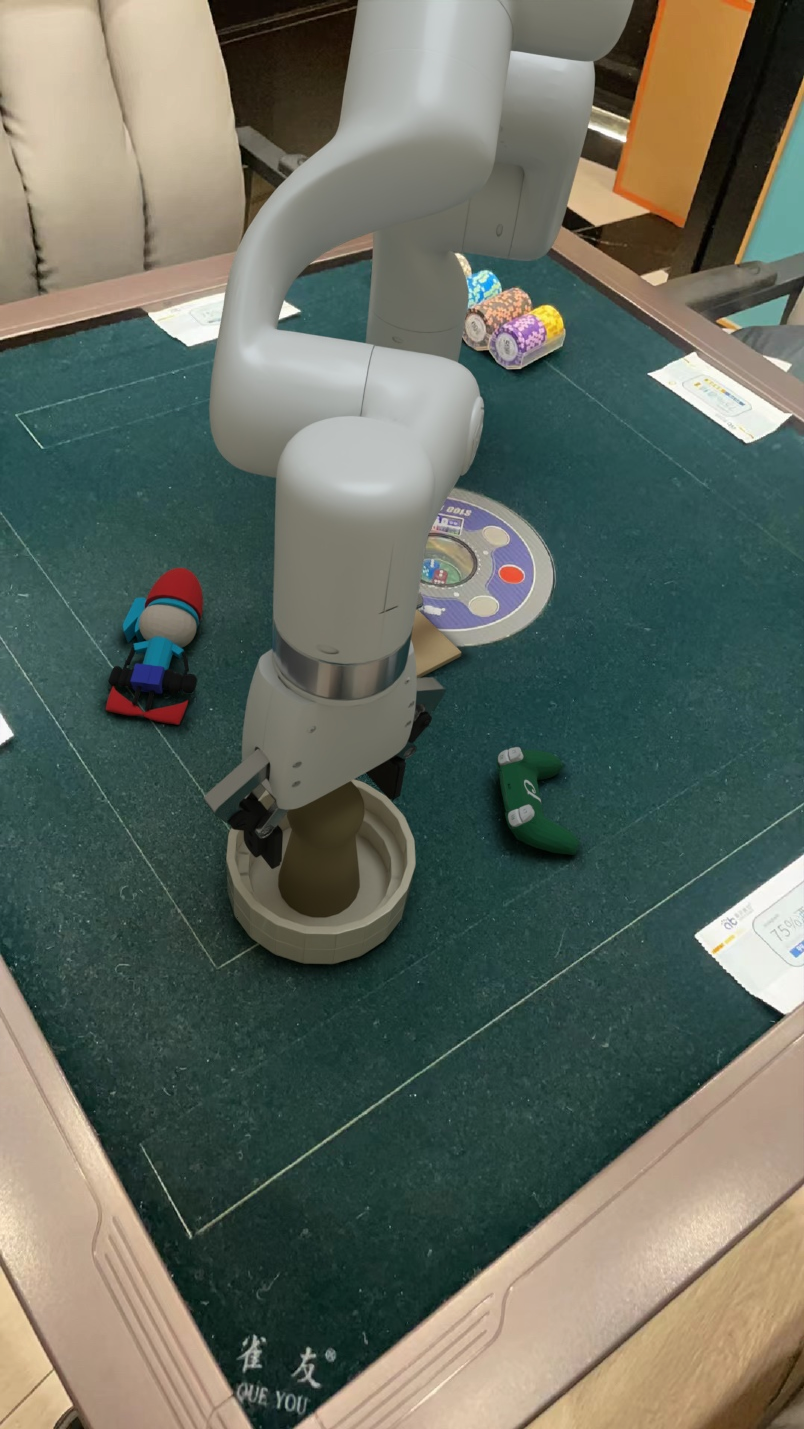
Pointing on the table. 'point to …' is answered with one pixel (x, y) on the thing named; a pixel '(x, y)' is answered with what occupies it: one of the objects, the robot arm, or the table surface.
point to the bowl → (354, 929)
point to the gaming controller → (531, 799)
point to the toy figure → (159, 645)
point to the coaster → (430, 646)
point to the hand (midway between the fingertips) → (324, 817)
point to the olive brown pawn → (323, 854)
